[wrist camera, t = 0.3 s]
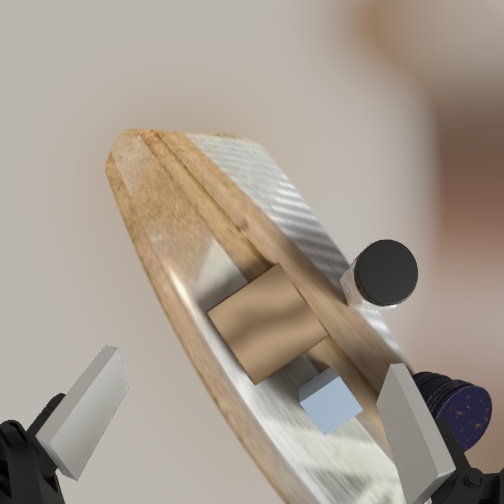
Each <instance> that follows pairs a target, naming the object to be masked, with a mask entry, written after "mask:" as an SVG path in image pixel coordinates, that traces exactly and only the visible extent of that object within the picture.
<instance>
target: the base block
mask: <svg viewBox="0 0 504 504" xmlns="http://www.w3.org/2000/svg"><path fill="white" fill-rule="evenodd" d="M206 314H207V315H208V317H209V318H210V320H211V322H212V323H213V325H214V326H215V328H216V329H217V331H218V332H219V334H220V335H221V337H222V338H223V340H224V341H225V343H226V344H227V346H228V347H229V349H230V350H231V352H232V353H233V355H234V356H235V358H236V359H237V361H238V362H239V364H240V365H241V367H242V368H243V369H244V371H245V372H246V374H247V375H248V377H249V378H250V379H251V381H252V382H253V384H254V385H256V384H258V383H260V382H261V381H263V380H264V379H266V378H268V377H269V376H271V375H272V374H274V373H275V372H277V371H278V370H280V369H282V368H283V367H285V366H286V365H288V364H289V363H291V362H292V361H294V360H295V359H297V358H298V357H299V356H301V355H302V354H304V353H305V352H307V351H308V350H310V349H311V348H312V347H314V346H315V345H317V344H318V343H319V342H321V341H322V340H324V339H325V338H326V337H328V336H329V335H330V334H329V332H328V331H327V329H326V328H325V327H324V325H323V324H322V322H321V321H320V320H319V318H318V317H317V315H316V314H315V313H314V311H313V310H312V308H311V307H310V306H309V304H308V303H307V301H306V300H305V299H304V297H303V296H302V294H301V293H300V292H299V290H298V289H297V287H296V286H295V285H294V283H293V282H292V280H291V279H290V278H289V276H288V275H287V273H286V272H285V271H284V269H283V268H282V266H281V265H280V264H279V262H278V263H276V264H275V265H273V266H272V267H270V268H269V269H268V270H266V271H265V272H263V273H262V274H260V275H259V276H258V277H256V278H255V279H253V280H252V281H250V282H249V283H247V284H246V285H245V286H243V287H242V288H240V289H239V290H237V291H236V292H234V293H233V294H232V295H230V296H229V297H227V298H226V299H224V300H223V301H221V302H220V303H218V304H217V305H215V306H214V307H212V308H211V309H210V310H208V311H207V312H206Z"/></svg>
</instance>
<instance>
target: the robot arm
mask: <svg viewBox="0 0 504 504" xmlns="http://www.w3.org/2000/svg"><path fill="white" fill-rule="evenodd" d="M128 389H129V386H128V383H127V379H126V376H125V372H124V368H123V364H122V360H121V356H120V352H119V348H116V347H111V346H105V347H104V348H103V350H102V351H101V352H100V353H99V354H98V356H97V357H96V358H95V359H94V360H93V362H92V363H91V364H90V365H89V367H88V368H87V369H86V370H85V372H84V373H83V374H82V376H81V377H80V378H79V379H78V380H77V382H76V383H75V384H74V386H73V387H72V388H71V389H70V391H69V392H68V393H67V394H66V395H65V394H63V393H60V394H58V395H56V396H55V397H53V398H52V399H51V400H50V401H49V403H48V404H47V405H46V407H45V408H44V409H43V410H42V413H40V414H39V416H38V417H37V418H36V419H35V421H34V422H33V423H32V424H31V426H30V427H29V429H28V430H27V431H25V430H24V428H23V427H22V425H21V424H20V423H19V422H18V421H15V420H8V421H4V422H3V423H2V424H0V504H65V502H64V499H63V495H62V492H61V489H60V485H59V481H58V478H57V475H56V473H55V471H56V469H57V468H58V469H59V470H60V471H61V473H62V474H63V475H65V476H67V477H69V478H72V479H74V480H76V481H77V480H78V478H79V476H80V474H81V473H82V471H83V469H84V467H85V465H86V464H87V462H88V460H89V458H90V456H91V454H92V453H93V451H94V449H95V447H96V445H97V444H98V442H99V440H100V438H101V436H102V435H103V433H104V431H105V429H106V428H107V426H108V424H109V422H110V420H111V418H112V417H113V415H114V413H115V412H116V410H117V408H118V406H119V405H120V403H121V401H122V400H123V398H124V396H125V394H126V393H127V391H128ZM376 406H377V409H378V411H379V414H380V417H381V420H382V423H383V426H384V429H385V432H386V436H387V439H388V442H389V445H390V448H391V451H392V454H393V458H394V461H395V464H396V468H397V471H398V474H399V478H400V481H401V485H402V488H403V492H404V496H405V499H406V503H407V504H424V503H425V502H426V501H427V500H428V499H429V498H430V497H431V500H432V503H431V504H504V468H503V469H502V470H501V471H500V472H499V473H492V474H483V473H482V472H481V471H480V470H478V469H477V468H471V467H470V465H469V463H468V461H467V459H466V456H465V455H464V452H463V450H462V448H461V446H460V444H459V442H457V438H456V436H455V435H454V432H453V430H452V428H451V426H450V425H449V424H448V423H447V422H446V421H445V420H444V419H443V418H438V419H434V420H433V418H432V416H431V414H430V411H429V409H428V408H427V406H426V404H425V402H424V400H423V398H422V396H421V394H420V392H419V390H418V388H417V386H416V384H415V382H414V381H413V379H412V377H411V375H410V373H409V371H408V369H407V368H406V366H405V364H404V363H399V364H390V367H389V370H388V373H387V375H386V378H385V381H384V384H383V387H382V390H381V392H380V395H379V398H378V400H377V403H376Z"/></svg>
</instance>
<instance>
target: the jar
mask: <svg viewBox="0 0 504 504" xmlns="http://www.w3.org/2000/svg"><path fill="white" fill-rule="evenodd" d="M417 279H418V268H417V263H416V261H415V258H414V256H413V255H412V253H411V252H410V250H409V249H408V248H407V247H405V246H404V245H403V244H401V243H399V242H397V241H393V240H379V241H377V242H374V243H371V244H369V245H368V246H367V247H366V248H365V249H364V251H362V253H360V255H359V256H358V257H357V258H356V259H355V260H354V261H353V263H352V264H351V265H350V266H349V268H348V269H347V270H346V271H345V273H344V274H343V275H342V276H341V278H340V279H339V281H340V284H341V286H342V289H343V292H344V295H345V297H346V300H347V303H348V306H349V307H353V308H359V309H365V310H372V311H379V310H384V309H390V308H394V307H396V305H397V304H399V303H401V302H403V301H404V300H406V299H407V298H408V297H409V296H410V295H411V294H412V292H413V291H414V289H415V287H416V283H417Z"/></svg>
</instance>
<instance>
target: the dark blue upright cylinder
mask: <svg viewBox="0 0 504 504" xmlns="http://www.w3.org/2000/svg"><path fill="white" fill-rule="evenodd" d="M411 377H412V379H413V381H414V382H415V384H416V386H417V388H418V390H419V392H420V394H421V396H422V398H423V400H424V402H425V404H426V406H427V408H428V409H429V411H430V414H431V416H432V418H433V420H434V419H438V418H443V419H444V420H445V421H446V422H447V423H448V424H449V425H450V426H451V428H452V430H453V432H454V435H455V436H456V438H457V442H459V444H460V446H461V448H462V450H463V452H466V451H468V450H469V449H470V448H472V447H473V446H474V445H475V444H476V443H477V442H478V441H479V440H480V438H481V437H482V436H483V434H484V433H485V430H486V429H487V427H488V425H489V422H490V419H491V414H492V401H491V397H490V395H489V393H488V392H487V391H486V390H485V389H484V388H482V387H479V386H476V385H474V384H472V383H469V382H465V381H462V380H452V379H451V378H449V377H447V376H445V375H440V374H437V373H432V372H420V373H417V374H414V375H413V376H411Z"/></svg>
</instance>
